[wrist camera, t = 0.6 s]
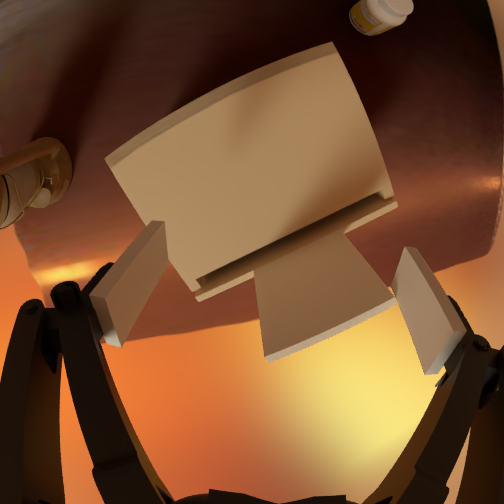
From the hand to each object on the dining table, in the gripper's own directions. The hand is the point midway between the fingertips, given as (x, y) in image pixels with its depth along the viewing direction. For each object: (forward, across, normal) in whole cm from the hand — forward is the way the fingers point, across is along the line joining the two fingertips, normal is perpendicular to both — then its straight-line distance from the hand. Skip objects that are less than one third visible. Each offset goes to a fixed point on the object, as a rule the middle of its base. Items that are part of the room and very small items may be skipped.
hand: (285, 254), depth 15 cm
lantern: (+19, -35, -1) cm, 40 cm away
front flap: (+24, -1, -6) cm, 24 cm away
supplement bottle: (+28, +10, +22) cm, 37 cm away
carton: (+24, -5, +1) cm, 25 cm away
